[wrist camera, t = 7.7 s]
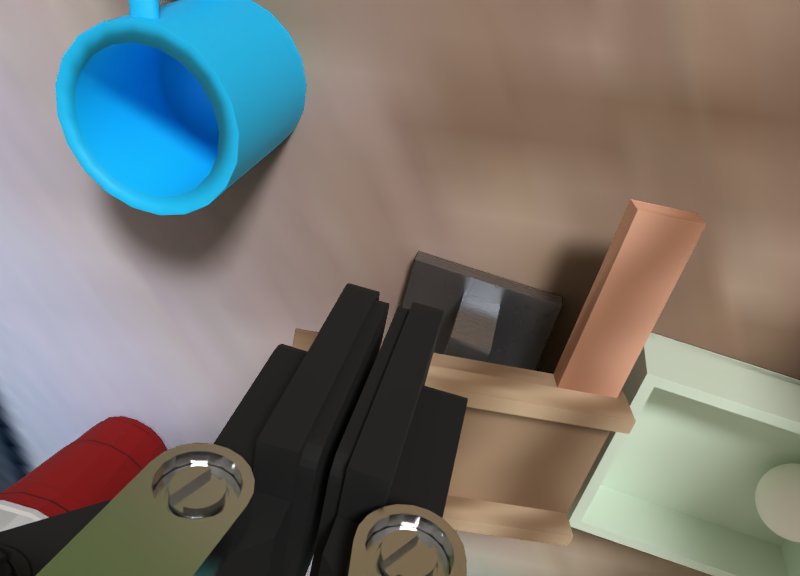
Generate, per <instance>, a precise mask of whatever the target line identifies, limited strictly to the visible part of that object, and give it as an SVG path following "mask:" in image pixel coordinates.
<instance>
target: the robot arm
mask: <svg viewBox="0 0 800 576" xmlns="http://www.w3.org/2000/svg"><path fill="white" fill-rule="evenodd" d="M388 310H389V303H385V302H382V301H379V292H378V291H374V290H371V289H367V288H364V287H360V286H357V285H353V284H349V283H348V284H347V285H346V286H345V288H344V290H343V292H342V293H341V295H340V297H339V298H338V300H337V302H336V304H335V305H334V307H333V309H332V311H331V312H330V314H329V316H328V317H327V319H326V321H325V323H324V324H323V326H322V328H321V330H320V331H319V333H318V335H317V336H316V338H315V340H314V342H313V343H312V345H311V347H310V349H309V350H308V351H304V350H301V349H298V348H294V347H291V346H287V345H284V344H280V345H278V347H277V348H276V349H275V350H274V352H273V353H272V355H271V356H270V358H269V360H268V361H267V363H266V364H265V366H264V367H263V369H262V370H261V372H260V373H259V375H258V376H257V378H256V379H255V381H254V383H253V384H252V386H251V387H250V389H249V390H248V392H247V393H246V395H245V396H244V398H243V399H242V401H241V403H240V404H239V406H238V407H237V409H236V410H235V412H234V413H233V415H232V416H231V418H230V419H229V421H228V422H227V424H226V426H225V427H224V429H223V430H222V432H221V433H220V435H219V436H218V438H217V439H216V441H215V442H214V444H208V443H192V444H186V445H179V446H177V447H174V448H172V449H169V450H167V451H164V452H163V453H161V454H160V455H159V456H157V457H156V458H155V459H153V460H152V461H151V462H150V463H149V464H148V465H147V466H146V467H145V468H144V469H143V470H142V471H141V472H140V473H139V474H138V475H137V476H136V477H135V478H133V479H132V480H131V481H130V482H129V483H128V484H127V485H126V486H125V487H124V488H123V489H122V490H121V491H120V492H119V493H118V494H117V495H116V496H115V497H114V498H113V499H110V500H107V501H103V502H100V503H97V504H93V505H90V506H86V507H83V508H80V509H76V510H73V511H69V512H66V513H63V514H59V515H56V516H52V517H49V518H46V519H42V520H39V521H35V522H32V523H29V524H25V525H22V526H18V527H15V528H12V529H8V530H5V531H1V532H0V576H305V575H306V573H307V570H308V567H309V565H310V562H311V560H312V557H313V561H312V566H311V572H310V576H467V567H466V555H465V550H464V545H463V543H462V541H461V539H460V538H459V536H458V534H457V532H456V531H455V530H454V529H453V528H452V527H451V526H450V525H449V524H448V523H447V522H446V521H445V520H444V519H443V514H444V509H445V505H446V500H447V495H448V491H449V486H450V481H451V477H452V472H453V467H454V463H455V458H456V453H457V449H458V444H459V439H460V435H461V430H462V426H463V421H464V416H465V412H466V407H467V402H468V398H465V397H462V396H459V395H455V394H452V393H448V392H445V391H441V390H438V389H435V388H431V387H428V386H425V382H426V378H427V375H428V371H429V367H430V363H431V360H432V356H433V352H434V349H435V345H436V341H437V337H438V334H439V330H440V326H441V322H442V319H443V315H444V310H442V309H438V308H435V307H431V306H427V305H424V304H420V303H417V302H413V303H412V305H411V308H410V309H406V308H403V307H398V309H397V311H396V313H395V316H394V318H393V320H392V323H391V325H390V327H389V330H388V332H387V334H386V337H385V339H384V341H383V344H382V346H381V342H382V337H383V333H384V328H385V324H386V319H387V314H388ZM380 346H381V348H380ZM313 555H314V556H313Z"/></svg>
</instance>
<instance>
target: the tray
mask: <svg viewBox="0 0 800 576" xmlns="http://www.w3.org/2000/svg"><path fill="white" fill-rule="evenodd" d="M622 389H623V392H624V394H625V396H626V399H627V401H628V404H629V406H630V408H631V411H632V413H633V416H634V418H635V420H636V422H635V424H634V426H633V428H632V430H631V432H630V433H629V434H626V433H620V432H614V431H610V433H609V435H608V437H607V438H606V440H605V442H604V444H603V446H602V448H601V450H600V452H599V454H598V456H597V458H596V459H595V461H594V463H593V465H592V467H591V469H590V471H589V473H588V475H587V477H586V478H585V480H584V482H583V484H582V486H581V488H580V490H579V492H578V494H577V496H576V497H575V499H574V501H573V503H572V505H571V507H570V509H569V511H568V513H567V514H568V518H569V522H570V526H571V527H573V528H576V529H579V530H582V531H585V532H588V533H591V534H594V535H596V536H599V537H602V538H605V539H608V540H611V541H614V542H617V543H620V544H623V545H625V546H628V547H631V548H634V549H637V550H640V551H643V552H646V553H649V554H652V555H655V556H657V557H660V558H663V559H666V560H669V561H672V562H675V563H678V564H681V565H684V566H686V567H689V568H692V569H695V570H698V571H701V572H704V573H707V574H710V575H713V576H800V542H795V541H790V540H787V539H785V538H783V537H781V536H779V535H777V534H776V533H774V532H773V531H772V530H771V529H770V528H768V527H767V525H766V524H765V523H764V522H763V520H762V519H761V517H760V515H759V513H758V511H757V508H756V503H755V492H756V488H757V485H758V482H759V481H760V479H761V478H762V476H763V475H764V474H765V473H766V472H768V471H769V470H770V469H772V468H774V467H776V466H778V465H782V464H788V463H796V464H800V380H798V379H795V378H791V377H788V376H785V375H782V374H779V373H776V372H773V371H770V370H766V369H763V368H760V367H757V366H754V365H751V364H748V363H745V362H742V361H738V360H735V359H732V358H729V357H726V356H723V355H720V354H717V353H713V352H710V351H707V350H704V349H701V348H698V347H695V346H692V345H689V344H685V343H682V342H679V341H676V340H673V339H670V338H667V337H664V336H660V335H657V334H654V333H650V335H649V337H648V339H647V341H646V343H645V345H644V347H643V349H642V351H641V353H640V354H639V356H638V358H637V360H636V362H635V364H634V366H633V368H632V370H631V372H630V374H629V376H628V378H627V380H626V382H625V384H624V386H623V387H622Z"/></svg>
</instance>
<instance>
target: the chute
mask: <svg viewBox="0 0 800 576" xmlns="http://www.w3.org/2000/svg"><path fill="white" fill-rule="evenodd" d="M705 226H706V223H705V222H704V221H703V220H702V218H701V217H700V216H699V215H698V213H693V212H688V211H684V210H679V209H674V208H670V207H665V206H660V205H656V204H651V203H646V202H642V201H637V200H632V199H631V200H630V202H629V204H628V207H627V209H626V211H625V213H624V216H623V218H622V220H621V223H620V225H619V227H618V229H617V232H616V234H615V236H614V238H613V241H612V243H611V245H610V247H609V250H608V252H607V254H606V256H605V259H604V261H603V263H602V265H601V268H600V270H599V272H598V274H597V277H596V279H595V281H594V283H593V286H592V288H591V290H590V293H589V295H588V297H587V299H586V302H585V304H584V306H583V308H582V311H581V313H580V315H579V317H578V320H577V322H576V324H575V326H574V329H573V331H572V333H571V335H570V338H569V340H568V342H567V344H566V347H565V349H564V351H563V353H562V356H561V358H560V360H559V363H558V365H557V367H556V369H555V372H554V374H551V373H545V372H539V371H534V370H528V369H522V368H517V367H511V366H505V365H500V364H494V363H489V362H483V361H477V360H472V359H466V358H460V357H455V356H449V355H443V354H438V353H433V356H432V360H431V363H430V367H429V371H428V375H427V378H426V382H425V386H428V387H431V388H435V389H438V390H441V391H445V392H448V393H452V394H455V395H459V396H462V397H465V398H468V402H467V407H466V412H465V416H464V421H463V426H462V430H461V435H460V439H459V444H458V449H457V453H456V458H455V463H454V467H453V472H452V477H451V481H450V486H449V491H448V495H447V500H446V505H445V509H444V514H443V519H444V520H445V521H446V522H447V523H448V524H449V525H450V526H451V527H452V528H453V529H454V530H459V531H466V532H473V533H480V534H487V535H494V536H501V537H508V538H514V539H521V540H528V541H535V542H542V543H549V544H556V545H563V546H568V545H569V543H570V541H571V540H572V538H573V533H572V530H571V526H570V522H569V518H568V514H567V513H568V511H569V509H570V507H571V505H572V503H573V501H574V499H575V497H576V496H577V494H578V492H579V490H580V488H581V486H582V484H583V482H584V480H585V478H586V477H587V475H588V473H589V471H590V469H591V467H592V465H593V463H594V461H595V459H596V458H597V456H598V454H599V452H600V450H601V448H602V446H603V444H604V442H605V440H606V438H607V437H608V435H609V433H610V431H614V432H620V433H626V434H629V433H630V432H631V430H632V428H633V426H634V424H635V422H636V420H635V418H634V416H633V413H632V411H631V408H630V406H629V404H628V401H627V399H626V396H625V394H624V392H623V389H622V387H623V386H624V384H625V382H626V380H627V378H628V376H629V374H630V372H631V370H632V368H633V366H634V364H635V362H636V360H637V358H638V356H639V354H640V353H641V351H642V349H643V347H644V345H645V343H646V341H647V339H648V337H649V335H650V333H651V331H652V329H653V327H654V325H655V323H656V321H657V320H658V318H659V316H660V314H661V312H662V310H663V308H664V306H665V304H666V302H667V300H668V298H669V296H670V294H671V292H672V290H673V288H674V287H675V285H676V283H677V281H678V279H679V277H680V275H681V273H682V271H683V269H684V267H685V265H686V263H687V261H688V259H689V257H690V255H691V254H692V252H693V250H694V248H695V246H696V244H697V242H698V240H699V238H700V236H701V234H702V232H703V230H704V228H705ZM318 333H319V332H314V331H308V330H302V329H297V328H296V330H295V335H294V341H293V346H292V347H294V348H298V349H301V350H304V351H308V350H309V349H310V347H311V345H312V343H313V342H314V340H315V338H316V336H317V335H318ZM381 346H382V344H381ZM381 346H380V348H381Z"/></svg>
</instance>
